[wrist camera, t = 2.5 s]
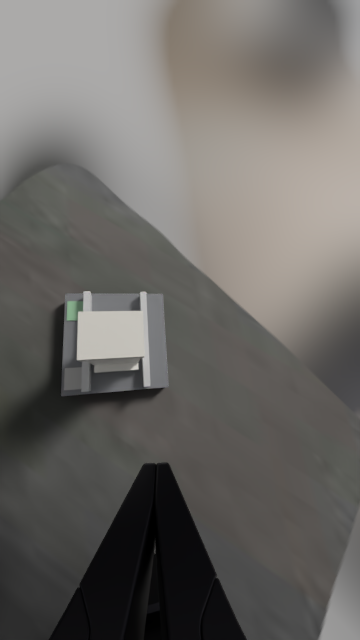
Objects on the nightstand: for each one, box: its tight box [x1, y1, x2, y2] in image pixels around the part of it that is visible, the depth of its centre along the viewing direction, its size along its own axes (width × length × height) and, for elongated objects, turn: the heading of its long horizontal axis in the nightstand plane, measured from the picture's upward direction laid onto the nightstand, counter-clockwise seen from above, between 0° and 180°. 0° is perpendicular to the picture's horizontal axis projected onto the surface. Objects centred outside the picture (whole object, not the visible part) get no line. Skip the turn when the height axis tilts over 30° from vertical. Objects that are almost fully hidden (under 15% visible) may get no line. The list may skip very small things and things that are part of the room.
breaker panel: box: [61, 291, 169, 396], centre depth 19 cm, size 8×8×2 cm
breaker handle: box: [77, 311, 145, 373], centre depth 15 cm, size 3×3×7 cm
